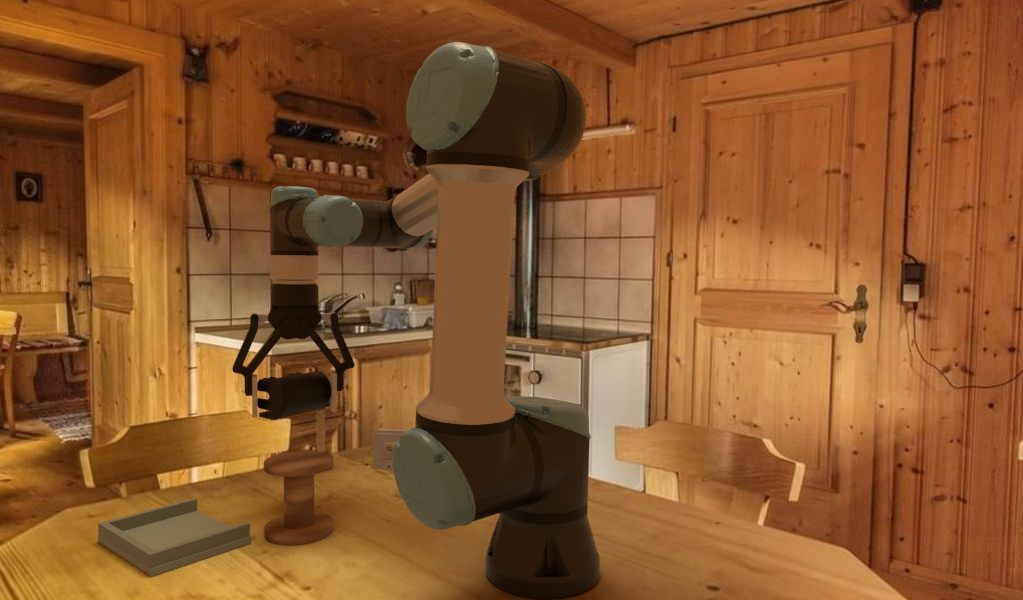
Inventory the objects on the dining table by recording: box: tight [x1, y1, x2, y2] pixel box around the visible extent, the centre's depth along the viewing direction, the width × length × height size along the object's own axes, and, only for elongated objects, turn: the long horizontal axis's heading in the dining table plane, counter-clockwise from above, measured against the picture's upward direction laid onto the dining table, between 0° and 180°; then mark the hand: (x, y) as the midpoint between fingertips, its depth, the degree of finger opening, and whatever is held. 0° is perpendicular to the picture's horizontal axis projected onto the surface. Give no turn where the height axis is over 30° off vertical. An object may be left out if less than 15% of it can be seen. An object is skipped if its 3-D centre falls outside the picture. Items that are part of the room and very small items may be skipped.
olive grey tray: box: [97, 497, 252, 578], centre depth 100 cm, size 17×14×3 cm
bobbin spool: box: [263, 450, 334, 546], centre depth 104 cm, size 10×10×11 cm
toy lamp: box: [315, 399, 332, 470], centre depth 135 cm, size 5×5×17 cm
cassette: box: [373, 428, 409, 470], centre depth 137 cm, size 12×2×8 cm, turn 86°
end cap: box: [257, 370, 331, 421], centre depth 115 cm, size 10×7×7 cm
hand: (294, 412), depth 115 cm, fingers closed on end cap, 12 cm apart
